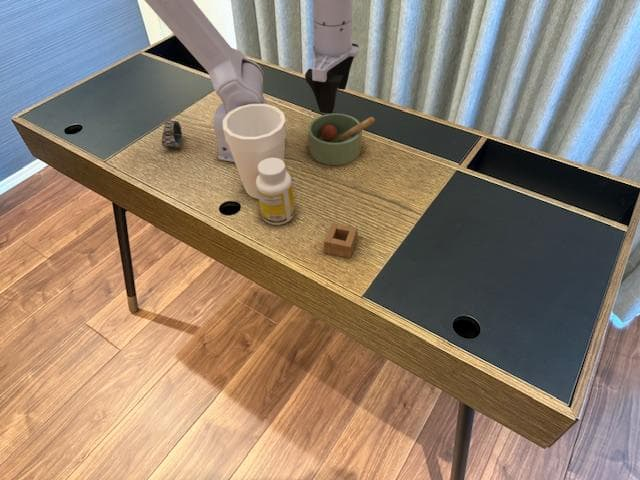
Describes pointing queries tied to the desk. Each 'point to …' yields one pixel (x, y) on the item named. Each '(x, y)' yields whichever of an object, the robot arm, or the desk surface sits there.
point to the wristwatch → (172, 135)
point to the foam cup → (254, 139)
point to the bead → (329, 132)
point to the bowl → (324, 148)
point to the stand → (340, 240)
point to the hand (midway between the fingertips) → (333, 99)
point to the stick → (354, 130)
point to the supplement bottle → (275, 192)
